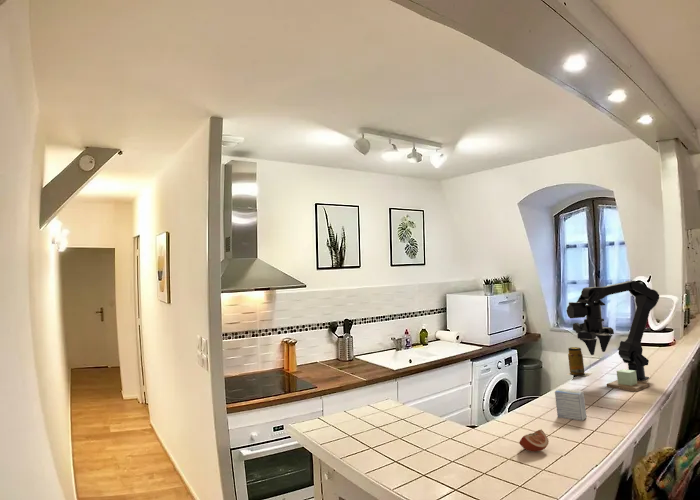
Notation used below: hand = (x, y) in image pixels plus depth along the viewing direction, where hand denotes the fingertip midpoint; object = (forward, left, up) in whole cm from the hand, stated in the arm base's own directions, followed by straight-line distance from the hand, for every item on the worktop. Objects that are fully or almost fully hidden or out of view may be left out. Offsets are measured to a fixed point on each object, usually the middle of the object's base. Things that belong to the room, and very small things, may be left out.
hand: (598, 353), depth 185 cm
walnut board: (+1, +11, -12) cm, 16 cm away
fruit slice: (+82, +24, -12) cm, 86 cm away
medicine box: (+50, +16, -12) cm, 54 cm away
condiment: (-8, -14, -12) cm, 20 cm away
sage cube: (+1, +11, -11) cm, 15 cm away
